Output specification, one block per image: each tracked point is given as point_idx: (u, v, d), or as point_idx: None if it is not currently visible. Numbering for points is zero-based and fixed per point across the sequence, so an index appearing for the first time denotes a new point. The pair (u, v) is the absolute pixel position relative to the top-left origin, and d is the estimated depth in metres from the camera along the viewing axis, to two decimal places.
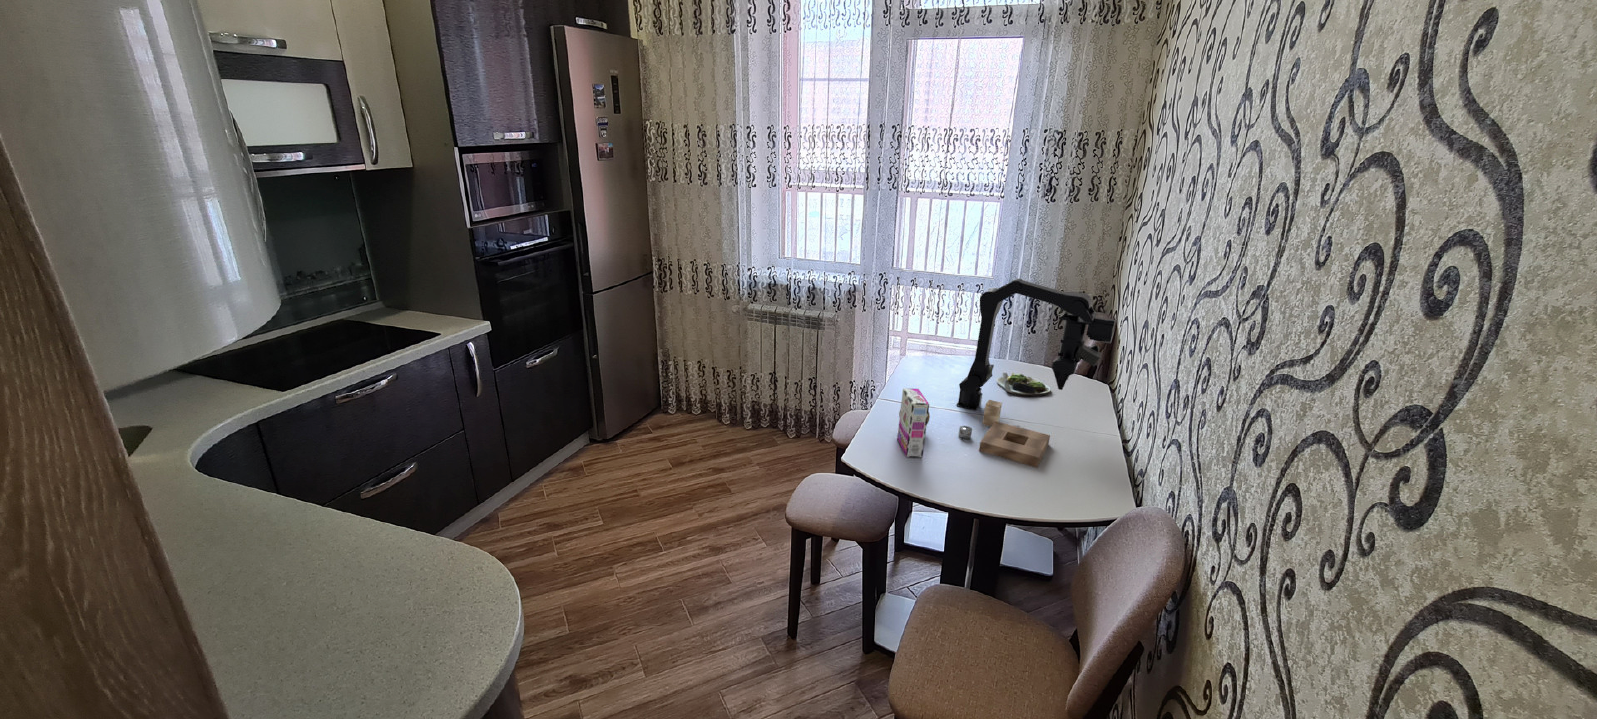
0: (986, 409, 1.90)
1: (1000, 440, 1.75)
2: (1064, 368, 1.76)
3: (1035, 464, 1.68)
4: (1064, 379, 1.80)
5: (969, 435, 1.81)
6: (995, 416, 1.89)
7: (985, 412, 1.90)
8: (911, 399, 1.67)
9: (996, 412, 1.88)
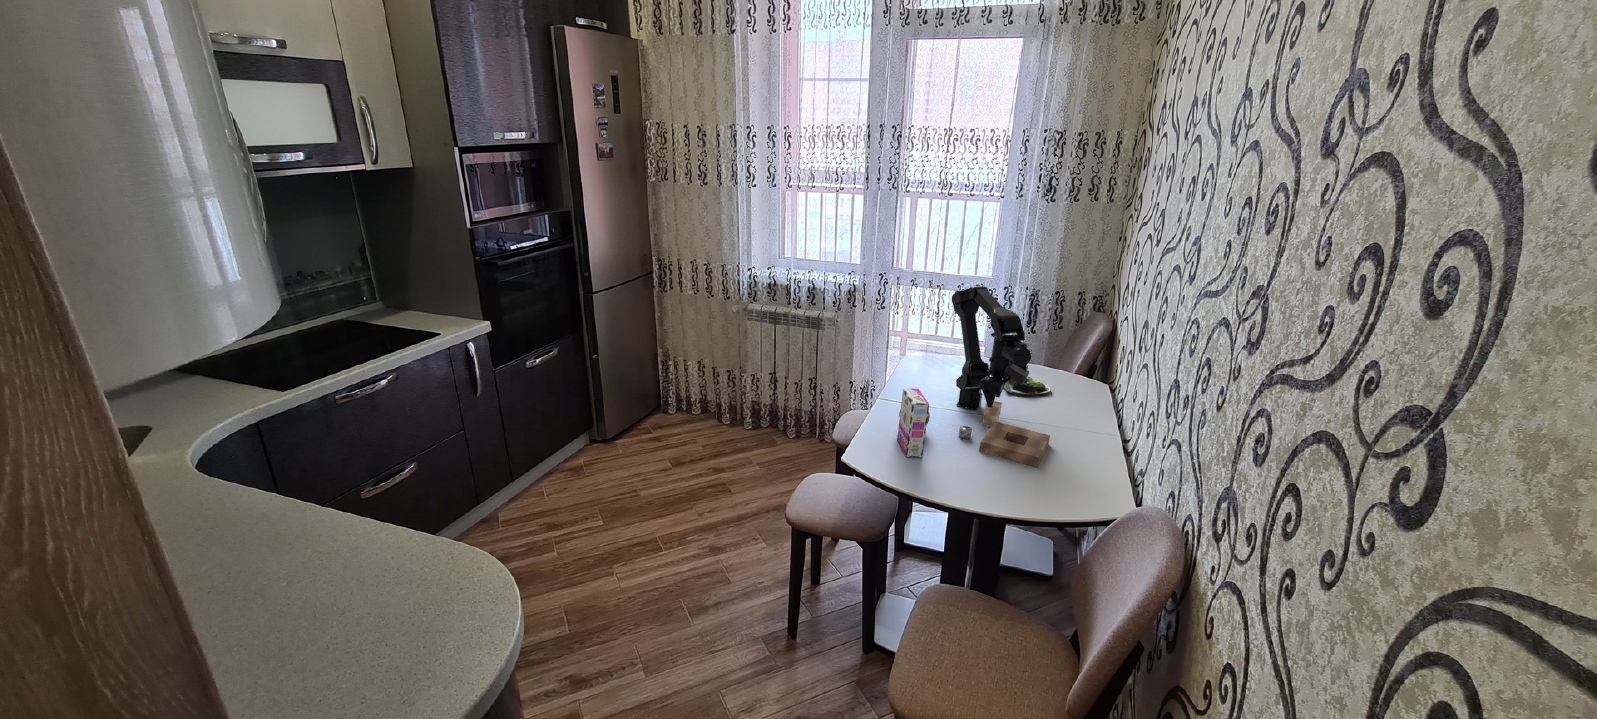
0: (986, 409, 1.90)
1: (1000, 440, 1.75)
2: (990, 387, 1.79)
3: (1035, 464, 1.68)
4: (992, 397, 1.83)
5: (969, 435, 1.81)
6: (995, 416, 1.89)
7: (985, 412, 1.90)
8: (911, 399, 1.67)
9: (996, 412, 1.88)
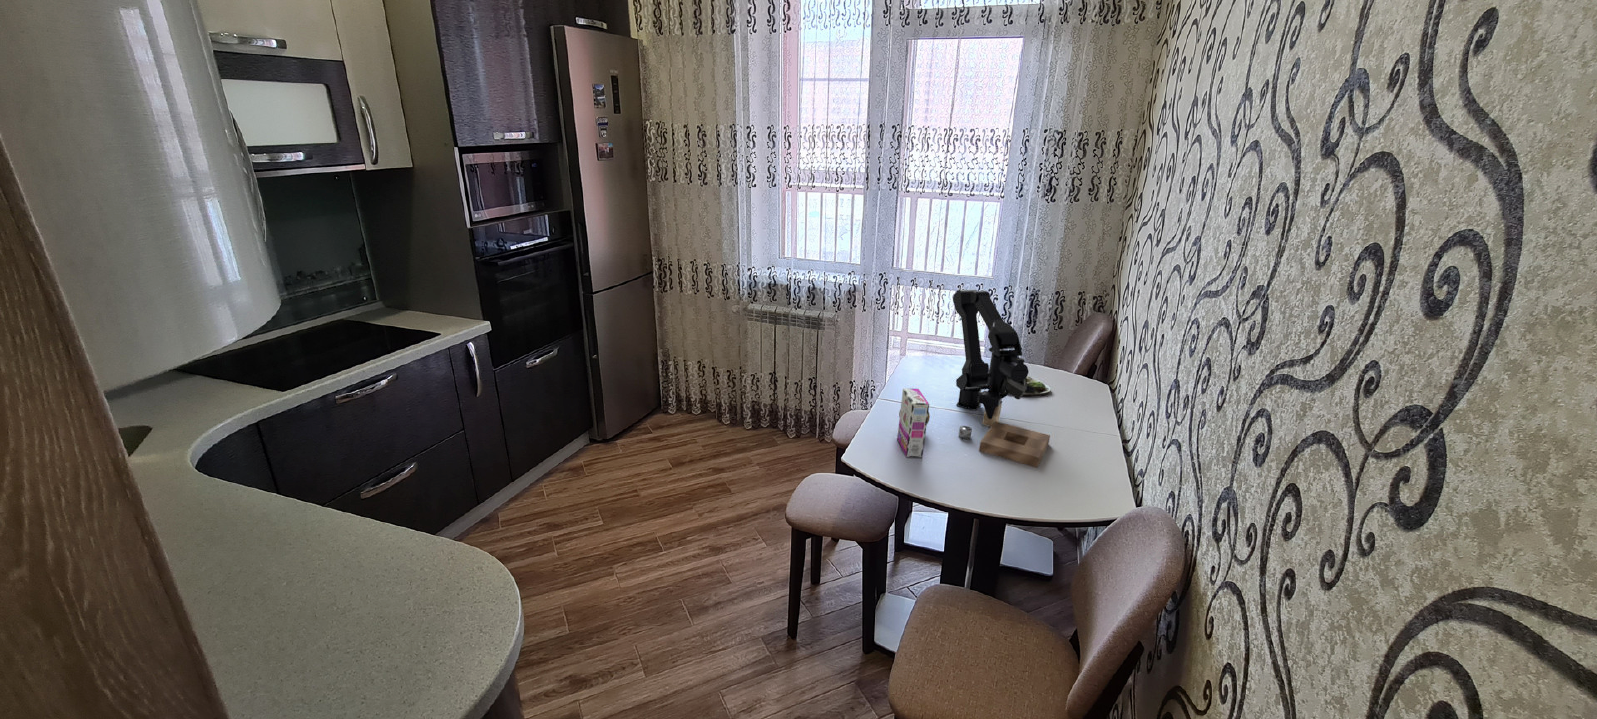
0: None
1: (1000, 440, 1.75)
2: (988, 402, 1.81)
3: (1035, 464, 1.68)
4: (992, 409, 1.87)
5: (969, 435, 1.81)
6: (995, 416, 1.89)
7: (985, 412, 1.90)
8: (911, 399, 1.67)
9: (996, 412, 1.88)
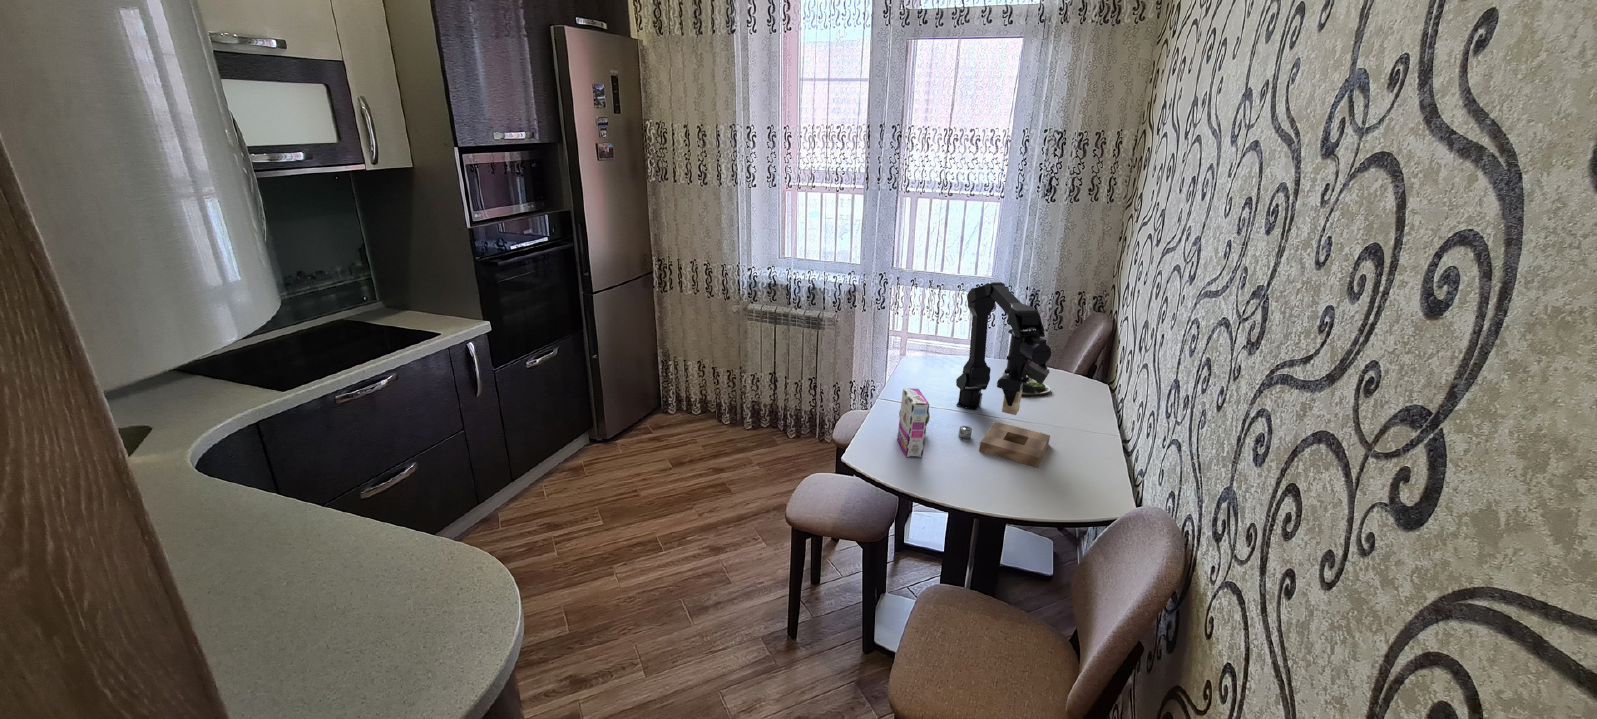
0: None
1: (1000, 440, 1.75)
2: (1009, 386, 1.68)
3: (1035, 464, 1.68)
4: (1013, 395, 1.75)
5: (969, 435, 1.81)
6: (1015, 403, 1.76)
7: (1005, 398, 1.78)
8: (911, 399, 1.67)
9: (1017, 398, 1.76)
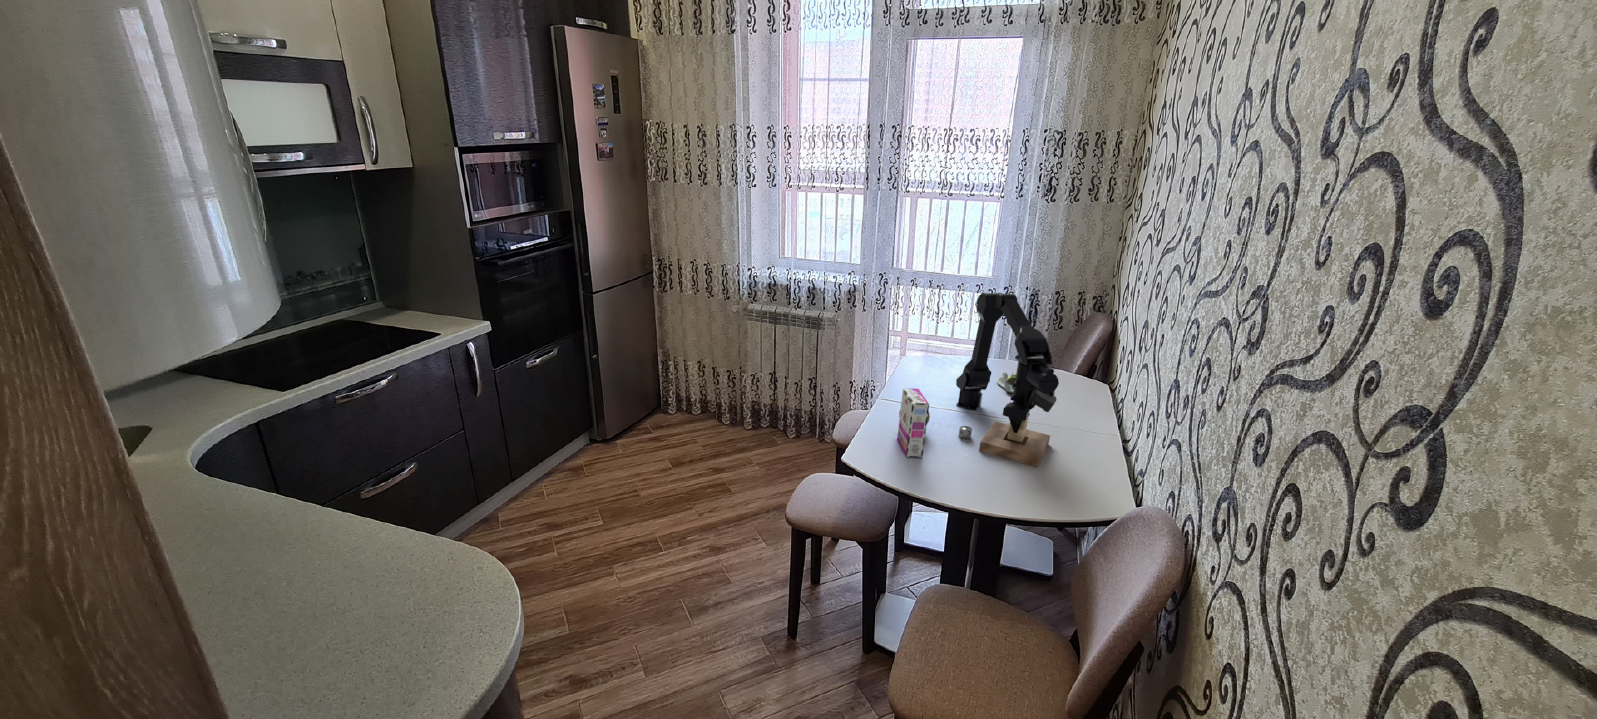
0: None
1: (1000, 440, 1.75)
2: (1015, 415, 1.65)
3: (1035, 464, 1.68)
4: (1019, 422, 1.71)
5: (969, 435, 1.81)
6: (1021, 430, 1.73)
7: (1010, 425, 1.74)
8: (911, 399, 1.67)
9: (1023, 425, 1.73)
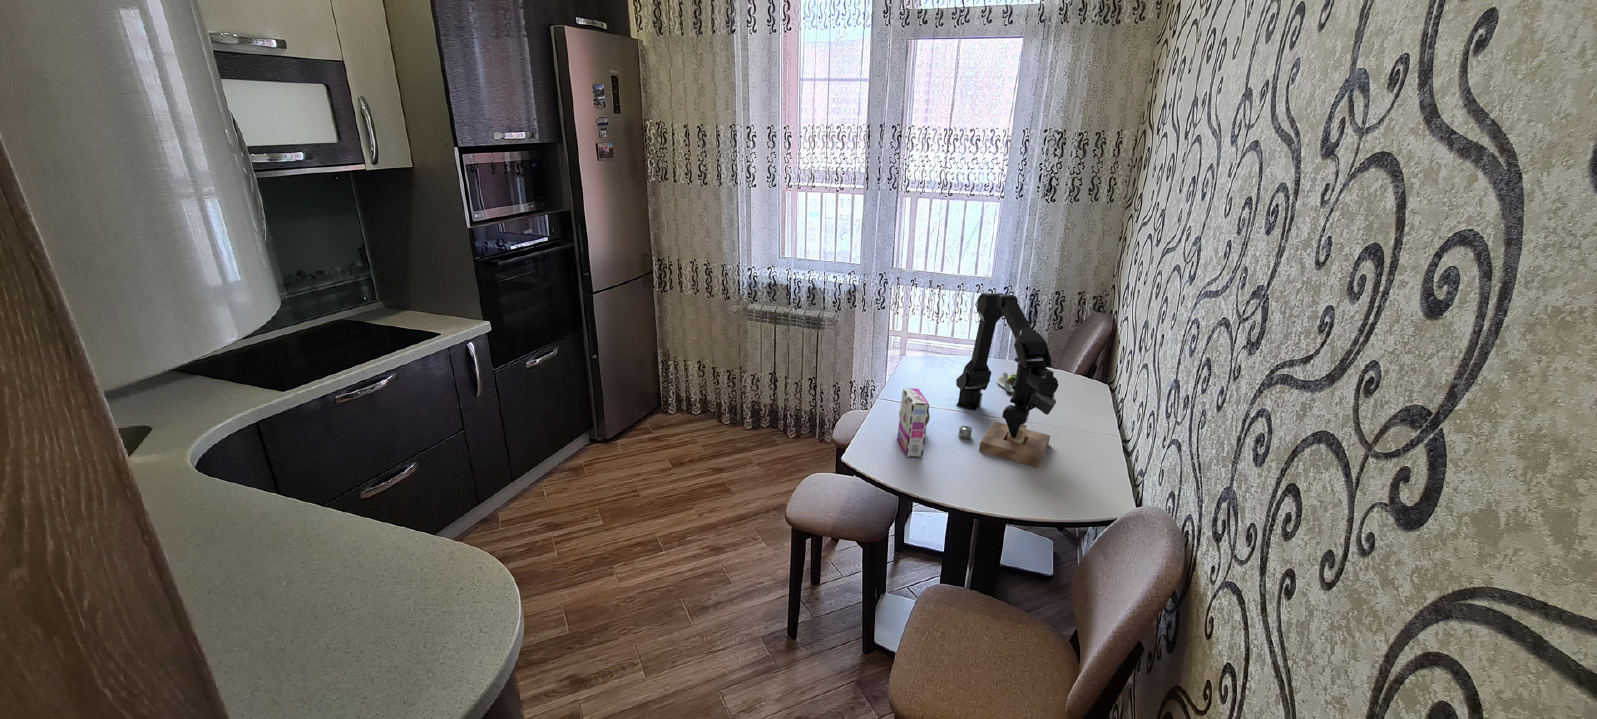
0: None
1: (1000, 440, 1.75)
2: (1014, 417, 1.66)
3: (1035, 464, 1.68)
4: (1017, 427, 1.70)
5: (969, 435, 1.81)
6: (1020, 440, 1.74)
7: (1008, 435, 1.76)
8: (911, 399, 1.67)
9: (1021, 436, 1.74)
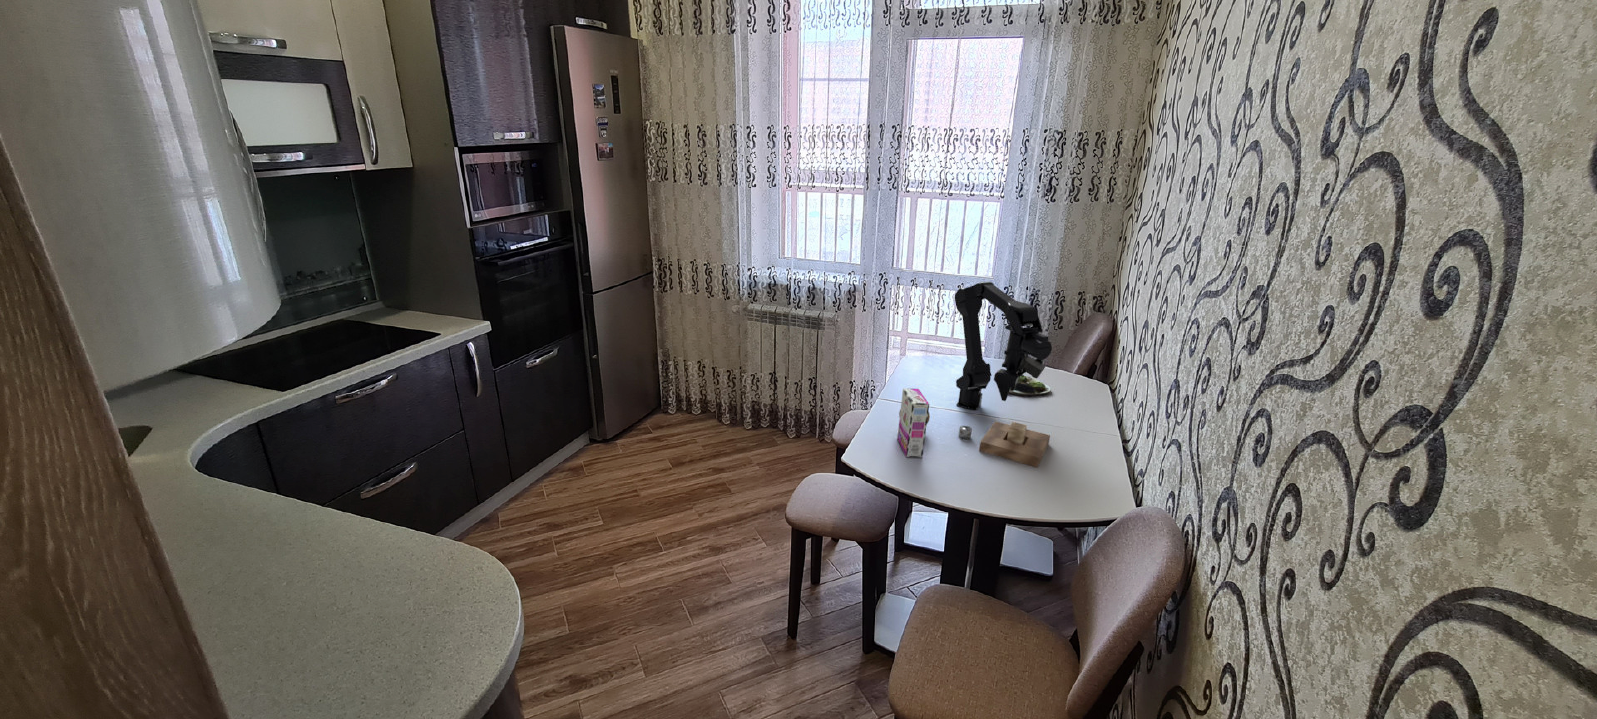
0: (1010, 432, 1.75)
1: (1000, 440, 1.75)
2: (1005, 380, 1.76)
3: (1035, 464, 1.68)
4: (1007, 391, 1.80)
5: (969, 435, 1.81)
6: (1020, 440, 1.74)
7: (1008, 435, 1.76)
8: (911, 399, 1.67)
9: (1021, 436, 1.74)
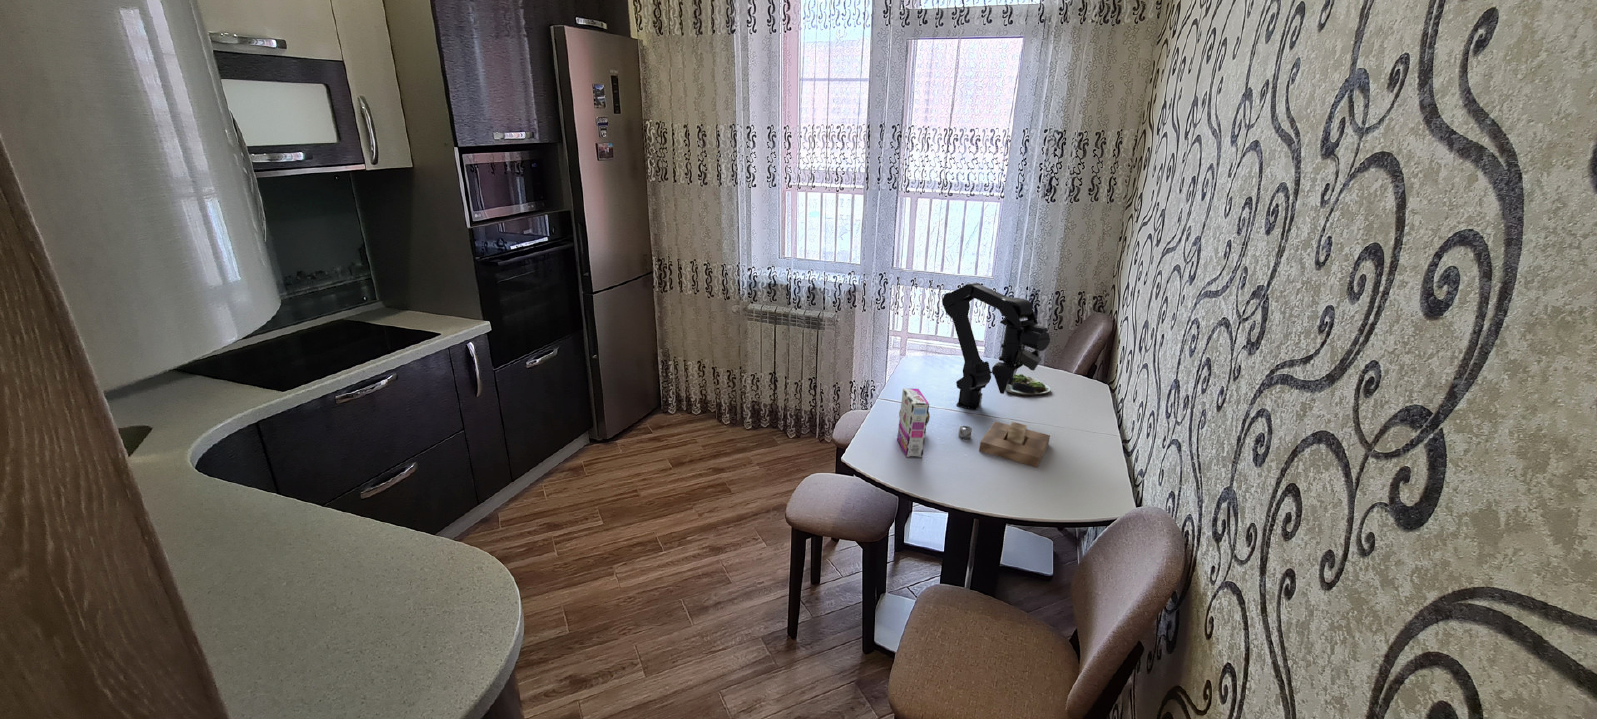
0: (1010, 432, 1.75)
1: (1000, 440, 1.75)
2: (1003, 372, 1.80)
3: (1035, 464, 1.68)
4: (1005, 383, 1.84)
5: (969, 435, 1.81)
6: (1019, 440, 1.74)
7: (1008, 435, 1.76)
8: (911, 399, 1.67)
9: (1021, 436, 1.74)
